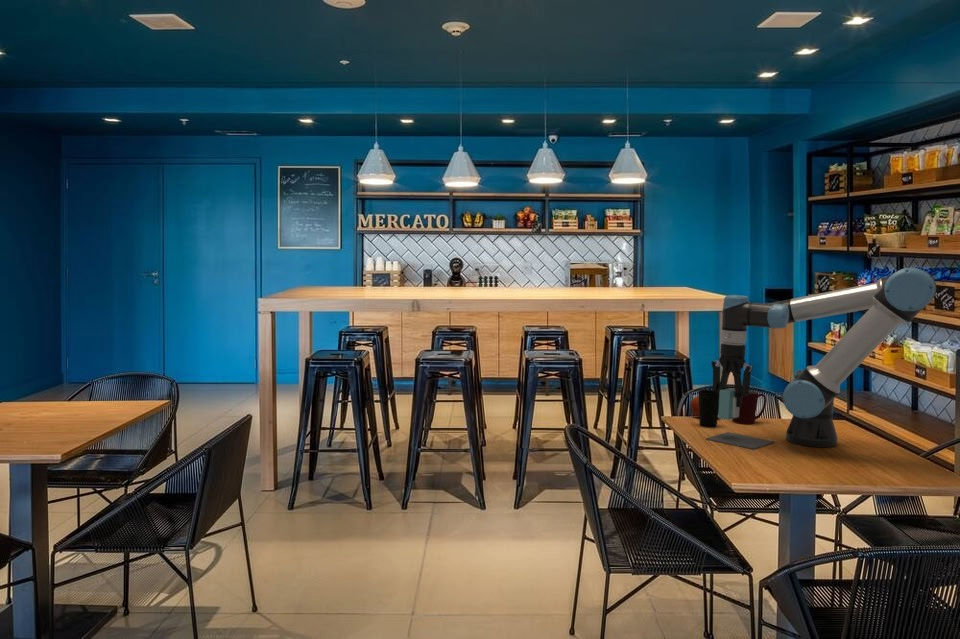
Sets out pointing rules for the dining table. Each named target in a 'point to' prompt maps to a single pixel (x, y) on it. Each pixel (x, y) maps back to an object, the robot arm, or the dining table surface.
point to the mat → (740, 440)
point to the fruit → (695, 406)
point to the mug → (749, 408)
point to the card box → (726, 404)
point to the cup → (708, 408)
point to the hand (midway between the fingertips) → (729, 415)
